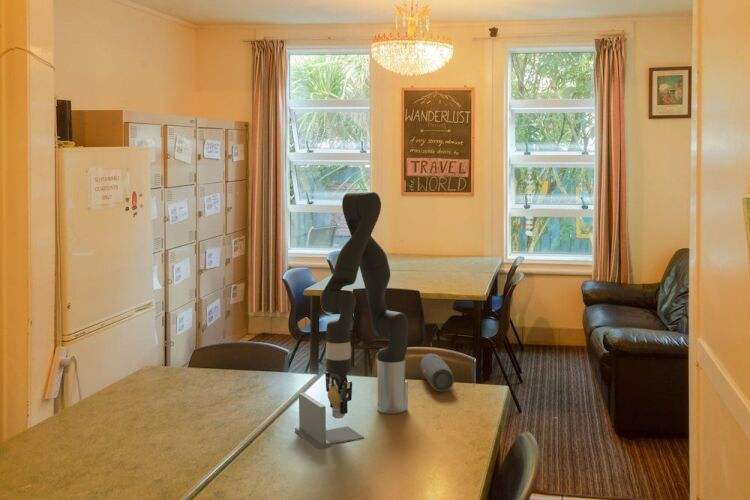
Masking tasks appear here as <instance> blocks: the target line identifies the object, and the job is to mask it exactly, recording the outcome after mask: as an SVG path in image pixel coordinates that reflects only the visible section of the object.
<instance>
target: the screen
mask: <svg viewBox="0 0 750 500" xmlns="http://www.w3.org/2000/svg"><path fill="white" fill-rule="evenodd" d="M326 408H327V407H326V405H324V404H322V403H321V402H319V400H316V399H315V398H314V397H311V396H310V395H309V394H307V393H305V392H304V391H303V392H299V393H298V415H299V417H298V418H299V419H298V421H299V423H298V425H299V427H294V430H295V432H296V434H298V435H300V436H301V437H302V438H304V439H305V440H306V441H307V442H309V443H310V444H311V445H312V446H313V447H315V448H316V449H323V448H328V447H331V443H330V442H329V441H327V440H326V430H327V427H326V426H327V421H326V420H327V419H326V418H327V417H326V415H327V414H326V413H327V410H326Z"/></svg>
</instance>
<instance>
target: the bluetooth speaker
mask: <svg viewBox="0 0 750 500" xmlns="http://www.w3.org/2000/svg"><path fill="white" fill-rule="evenodd" d="M420 369H421V371H422V374H423V376H424V378H425V379H426V381H427V382H428V383H429V385H430V387H432V388H433V390H435V391H438V392H442V393H443V392H447V391H449V390H450V389H452V387H453V386H454V383H455V377H454V374H453V372H452V371H451V369H450V367H449V366H448V364H447V362H445V361H444V359H442V358H441V356H439V355H437V354H436V353H426V354H425V355H424V356H423V357H422V359H421V361H420Z"/></svg>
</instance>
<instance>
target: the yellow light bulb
mask: <svg viewBox="0 0 750 500" xmlns="http://www.w3.org/2000/svg"><path fill="white" fill-rule="evenodd" d="M340 391H343V389H342V390H340ZM342 396H343V394H342ZM327 398H328V401H329V404H330V403H331V404H332V405H333V407H332V408H331V409H332V412H331V413H332V414H331V415H332V417H333V418H334V419H343V418H344V417H345V416H346V414H341V413H340V399H339V395H338V394H337V392H336V387H335V386H332V387H331V388H330V389H329V391H328V392H327Z"/></svg>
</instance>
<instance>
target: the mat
mask: <svg viewBox="0 0 750 500" xmlns="http://www.w3.org/2000/svg"><path fill="white" fill-rule="evenodd" d="M363 439H365V437H364V436H363V435H361V434H360V433H359V432H357V431H356V430H354V429H352V428H351V427H349V426H347V425H346V426H342V427H336V428H331V429H326V440H327V441H329V442H330V443H331V445H333V446H334V445H337V444H342V443H347V442H352V441H358V440H363Z"/></svg>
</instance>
